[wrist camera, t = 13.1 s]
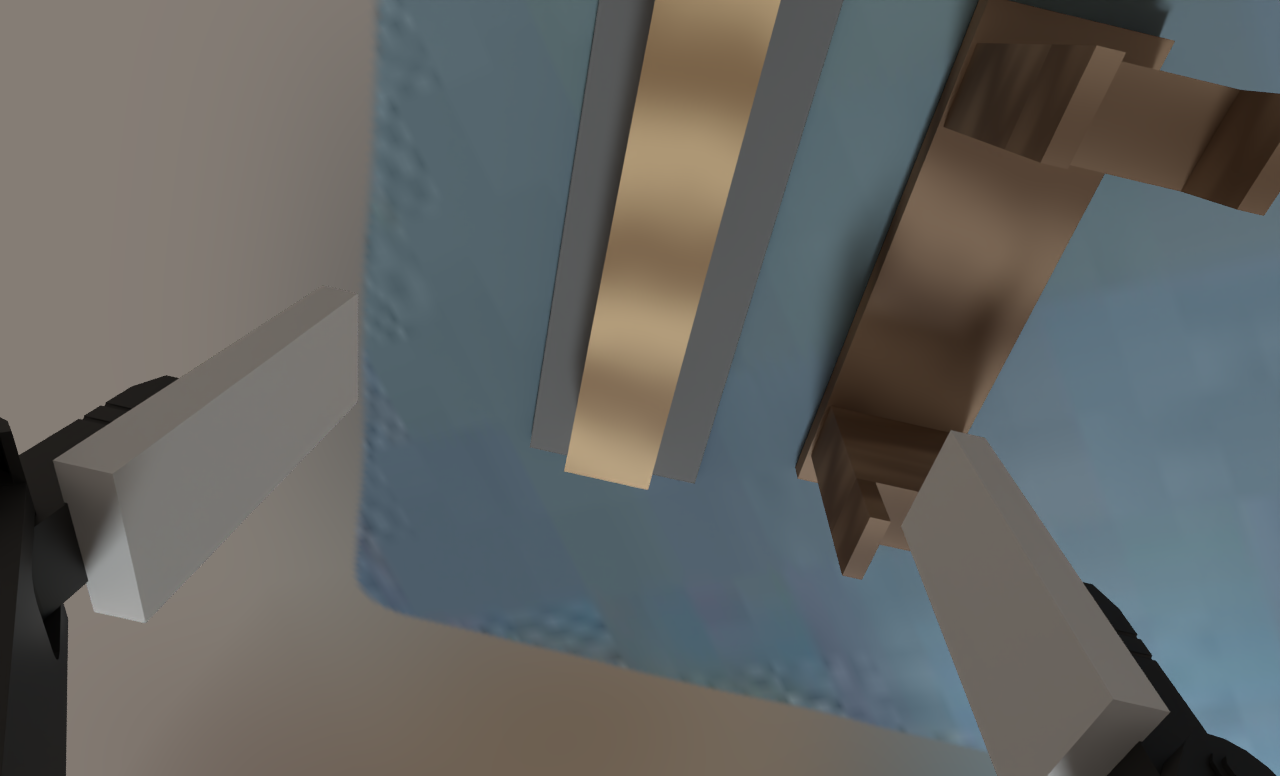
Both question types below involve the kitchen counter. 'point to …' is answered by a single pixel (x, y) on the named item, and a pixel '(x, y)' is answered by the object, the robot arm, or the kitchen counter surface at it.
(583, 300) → the mat
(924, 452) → the bracket
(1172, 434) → the kitchen counter surface
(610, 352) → the rail
